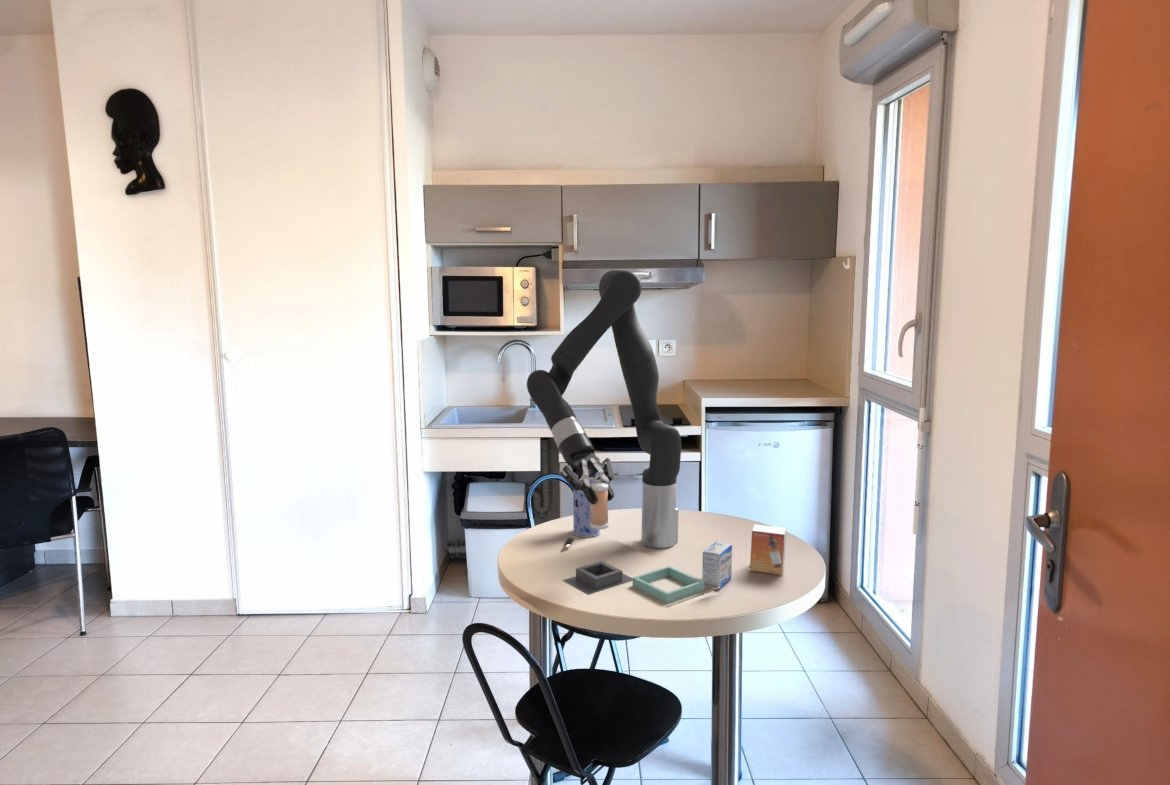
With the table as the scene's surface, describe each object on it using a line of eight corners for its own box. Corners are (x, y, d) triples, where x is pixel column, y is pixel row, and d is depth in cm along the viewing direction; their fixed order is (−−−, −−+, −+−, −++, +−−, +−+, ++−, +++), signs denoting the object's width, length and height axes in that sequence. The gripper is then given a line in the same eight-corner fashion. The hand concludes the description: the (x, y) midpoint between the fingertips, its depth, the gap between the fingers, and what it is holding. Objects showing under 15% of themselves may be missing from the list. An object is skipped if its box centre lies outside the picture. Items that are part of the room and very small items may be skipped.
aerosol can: (570, 529, 208) (569, 462, 205) (596, 527, 210) (596, 460, 207) (576, 538, 201) (576, 468, 198) (603, 536, 203) (603, 467, 200)
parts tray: (668, 577, 174) (669, 565, 174) (704, 594, 165) (704, 581, 165) (632, 589, 167) (632, 577, 167) (666, 607, 158) (667, 594, 158)
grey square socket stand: (608, 570, 179) (608, 556, 178) (635, 583, 171) (635, 569, 170) (562, 584, 170) (562, 570, 170) (588, 598, 162) (588, 584, 162)
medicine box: (719, 590, 167) (720, 554, 166) (701, 586, 169) (702, 550, 168) (731, 578, 174) (732, 544, 172) (714, 575, 176) (715, 540, 175)
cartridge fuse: (600, 522, 171) (600, 481, 170) (612, 526, 168) (612, 485, 167) (586, 525, 169) (586, 484, 167) (597, 530, 166) (597, 488, 164)
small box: (749, 571, 178) (750, 530, 177) (752, 563, 183) (753, 523, 182) (782, 576, 176) (784, 534, 174) (784, 567, 181) (786, 527, 179)
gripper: (553, 435, 167) (585, 498, 160) (602, 427, 176) (634, 487, 168) (541, 453, 172) (571, 515, 165) (589, 445, 181) (619, 503, 173)
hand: (603, 500), depth 166 cm, fingers closed on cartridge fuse, 4 cm apart
